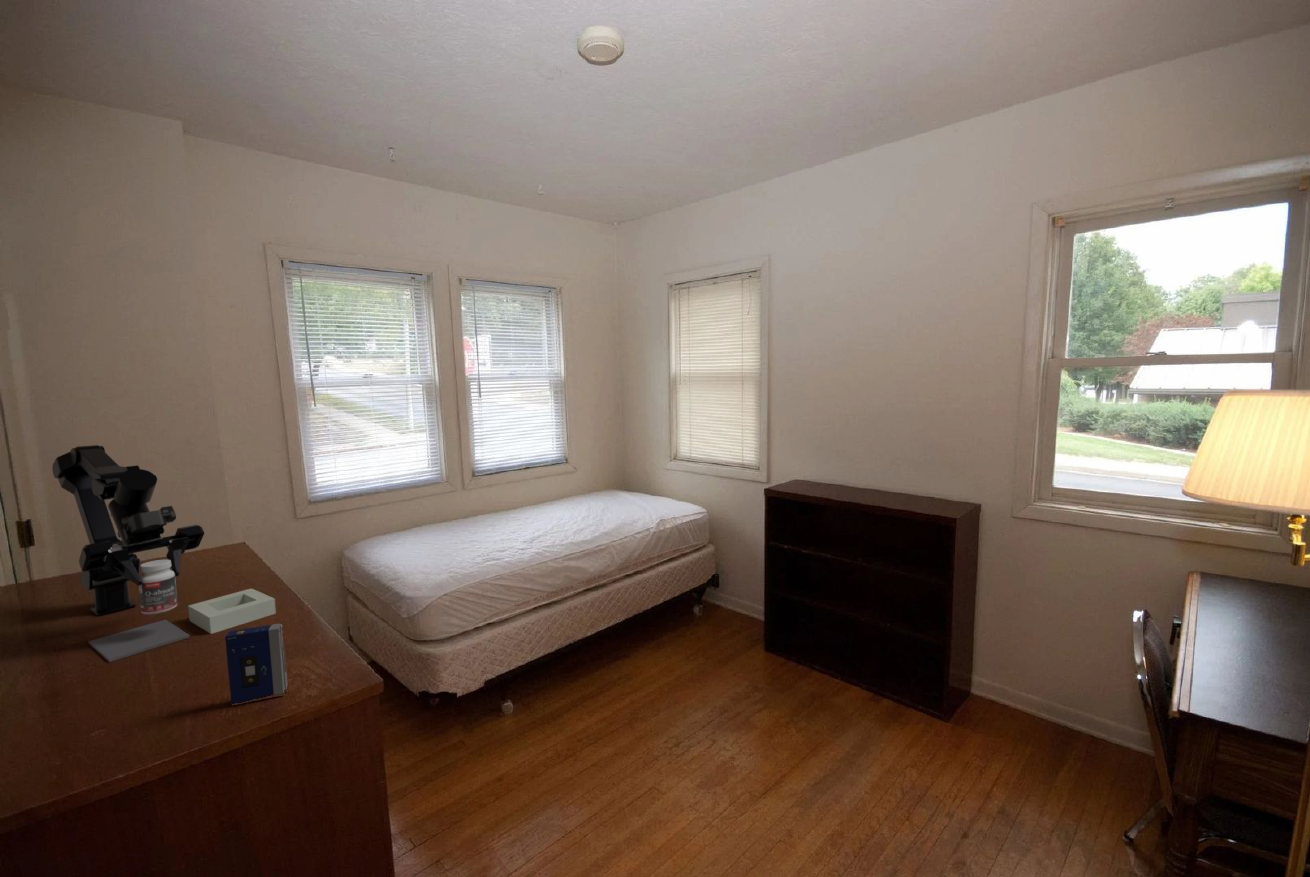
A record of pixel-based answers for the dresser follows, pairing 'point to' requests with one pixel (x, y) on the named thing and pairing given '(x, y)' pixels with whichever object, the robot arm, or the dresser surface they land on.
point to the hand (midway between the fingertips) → (159, 579)
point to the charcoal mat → (137, 640)
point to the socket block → (231, 610)
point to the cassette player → (256, 662)
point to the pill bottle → (157, 587)
